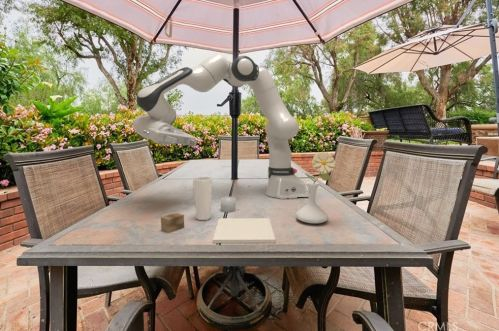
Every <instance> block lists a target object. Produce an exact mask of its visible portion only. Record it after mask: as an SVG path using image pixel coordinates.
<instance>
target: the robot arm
mask: <svg viewBox="0 0 499 331" xmlns="http://www.w3.org/2000/svg"><path fill="white" fill-rule="evenodd" d="M221 81H224V82H225V83H227V84H228V85H229V86H231V87H233V88H241V87H243V86H245V85H248V86H249V87H250V89H252V92H253V95H254V96H255V99H256V102H257V104H258V106H259V109H260V111H261V112H262V114H263V115H264V116H265V118H266V119H267V120H268V121H267V122H266V124H265V128H264V129H265V133H266V138H267V145H268V154H269V155H268V157H269V158H268V162H269V164H268V169H267V178H268V182H267V185H266V186H267V187H266V190H265V195H266V196H268V197H272V198H277V199H280V200H286V199H287V198H289V199H298V198H297V197H308V196H309V190H307V187H306V186H307V185H306V182H304V181H303V180H302V179H301V178H300V177H298V176H297V175H296V174H297V173H298V169H296V168H293V167H292V149H291V148H290V144H289V140H291V139H293V138H294V137H296V135H298V133H299V130H300V129H299V128H300V126H299V123H298V121H297V120H296V119H295V118H294V117H293V115H292V114H291V113H290V111H289V110H288V109H287V106H286V105H285V103H284V101H283V100H282V98H281V94H280V92H279V90H278V87H277V85H276V82H275V81H274V78H273V76H272V74H271V73H270V71H269V69H267V68H266V67H263V66H260V67H259V65H258V64H256V63H255V61H254V60H253V59H252V58H251V57H250V56H248V55H240V56H237V57H235V58H234V60H233V61H229V60H228V59H227V58H226V56H225V55H223V54H221V53H215V54H213V55H211V56H209V57H207V58H206V59H205V60H203V61H202V62H200V63H199V64H198V65H197V66H194V67H191V68H190V67H188V66H187V67H186V66H184V67H182V68H179V69H178V70H175V71H174V72H172V73H169V74H168V75H166V76H165V77H163V78H161V79H159V80H158V81H156V82H154V83H152V84H149V85H146V86H144V87H141V89H140V90H139V91H138V92H137V94H136V105H137V106H138V107H139V108H140V109H142V110H143V111H144V112H145V113H146V114H144V115H139V116H136V117H134V119H133V122H132V126H133V130H134V131H135V133H136V134H138V135H139V136H141V137H143V138H144V139H147V140H151V141H152V142H153V143H156V144H159V145H161V146H166V145H175V144H176V145H184V146H191V147H196V146H197V141H196V137H195V136H193V135H192V134H189V133H187V132H184V131H183V129H180V128H178V127H175V126H173V124H174V123H175V121H176V118H177V111H176V109H175V108H174V107H173V106H172V105H171V103H169V102H168V100H167V99H166V98H165V97H164V95H165V94H166V93H169V91H172V90H174V88H177V87H178V86H180V85H186V86H188V87H190V88H191V89H192V90H194V91H196V92H199V93H207V92H209V91H210V90H212V89H213V88H215V86H217V85H218V84H219V83H220V82H221ZM308 198H309V197H308Z"/></svg>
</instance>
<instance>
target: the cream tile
mask: <svg viewBox="0 0 499 331" xmlns="http://www.w3.org/2000/svg"><path fill="white" fill-rule="evenodd" d="M265 243H266V244H275V243H276V237H275V233H274V229H273V226H272V223H271V219H270V218H269V217H268V218H267V217H266V218H265V217H264V218H262V217H261V218H260V217H259V218H257V217H256V218H255V217H253V218H251V217H249V218H248V217H246V218H244V217H243V218H242V217H240V218H239V217H238V218H236V217H235V218H226V217H225V218H223V217H221V218H218V221H217V224H216V228H215V231H214V234H213V238H212V244H265Z"/></svg>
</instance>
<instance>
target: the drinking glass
mask: <svg viewBox="0 0 499 331" xmlns="http://www.w3.org/2000/svg"><path fill="white" fill-rule="evenodd" d="M192 187H193V197H194V205H195V218H196V219H197V220H199V221H207V220H210V219H211V217H212V200H213V178H212V177H210V176H196V177H194V178H193V182H192Z"/></svg>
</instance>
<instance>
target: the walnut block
mask: <svg viewBox="0 0 499 331" xmlns="http://www.w3.org/2000/svg"><path fill="white" fill-rule="evenodd" d="M160 225H161V226H160V228H161V229H160V230H161V231H163V232H165V233H167V234H170V233H173V232H176V231H179V230H181V229H185V215H184V214H182V213H179V212H174V213H173V212H172V213H171V214H167V215H164V216H160Z"/></svg>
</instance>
